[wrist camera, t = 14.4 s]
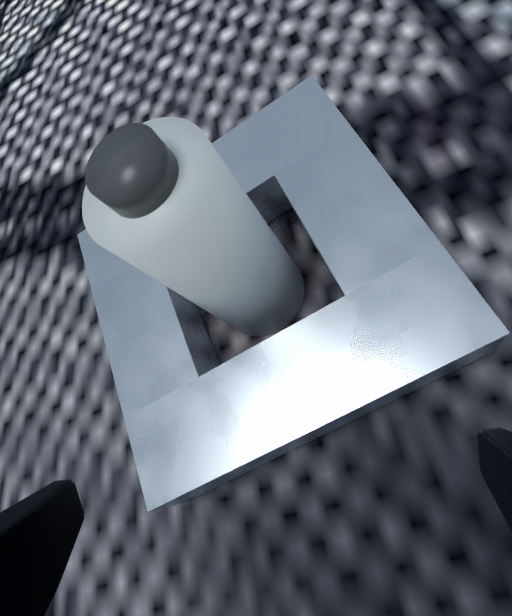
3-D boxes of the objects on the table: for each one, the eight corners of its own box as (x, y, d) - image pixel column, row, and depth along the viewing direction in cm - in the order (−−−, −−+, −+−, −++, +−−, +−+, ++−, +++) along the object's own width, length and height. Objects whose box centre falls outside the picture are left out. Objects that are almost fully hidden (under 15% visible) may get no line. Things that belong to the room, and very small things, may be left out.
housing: (494, 351, 16) (509, 332, 13) (186, 502, 19) (147, 511, 16) (324, 118, 22) (311, 75, 20) (113, 256, 25) (77, 234, 22)
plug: (307, 331, 19) (190, 215, 9) (221, 340, 21) (45, 250, 11) (302, 246, 21) (196, 70, 11) (222, 261, 22) (67, 118, 12)
